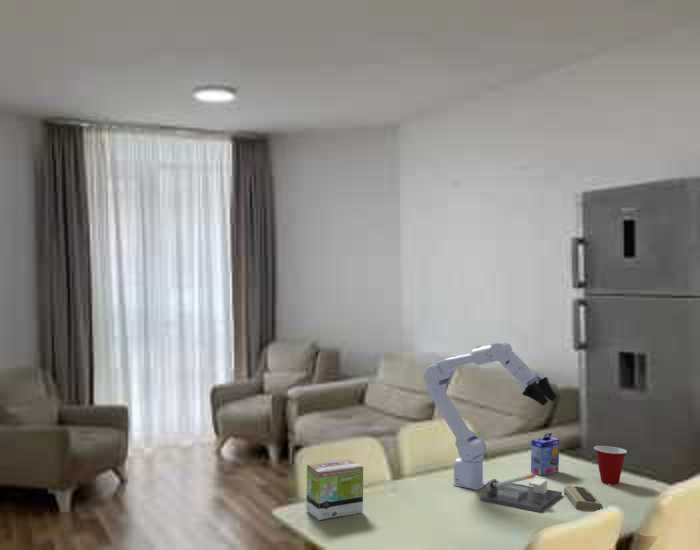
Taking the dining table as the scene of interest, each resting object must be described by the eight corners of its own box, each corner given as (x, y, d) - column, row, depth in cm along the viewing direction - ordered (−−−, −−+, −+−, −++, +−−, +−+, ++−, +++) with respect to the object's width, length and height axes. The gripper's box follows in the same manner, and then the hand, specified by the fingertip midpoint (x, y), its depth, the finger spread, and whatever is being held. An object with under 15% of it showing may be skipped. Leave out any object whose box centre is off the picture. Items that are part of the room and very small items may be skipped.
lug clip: (529, 495, 230) (529, 483, 230) (536, 489, 235) (536, 478, 235) (539, 497, 228) (539, 484, 228) (547, 491, 233) (547, 479, 233)
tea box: (319, 521, 211) (319, 472, 211) (306, 511, 220) (305, 464, 220) (364, 513, 218) (363, 465, 218) (349, 503, 227) (348, 457, 227)
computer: (602, 510, 220) (602, 500, 220) (575, 510, 220) (575, 499, 220) (588, 494, 236) (588, 484, 236) (563, 494, 236) (563, 484, 236)
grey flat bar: (492, 488, 233) (491, 484, 233) (497, 485, 236) (495, 481, 236) (532, 479, 225) (530, 474, 225) (536, 476, 228) (535, 471, 228)
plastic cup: (633, 483, 245) (633, 448, 245) (614, 489, 239) (614, 453, 239) (607, 476, 254) (606, 442, 254) (587, 481, 248) (587, 447, 248)
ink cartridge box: (542, 476, 254) (542, 436, 254) (530, 472, 259) (530, 433, 259) (560, 471, 260) (560, 432, 260) (548, 468, 265) (547, 429, 264)
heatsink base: (480, 500, 229) (480, 486, 229) (504, 485, 245) (504, 472, 245) (540, 512, 218) (540, 497, 218) (561, 495, 233) (561, 482, 233)
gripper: (518, 365, 226) (549, 396, 221) (536, 359, 238) (566, 389, 232) (505, 380, 229) (535, 411, 224) (523, 374, 241) (552, 403, 235)
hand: (550, 401), depth 228 cm, fingers open, 7 cm apart
